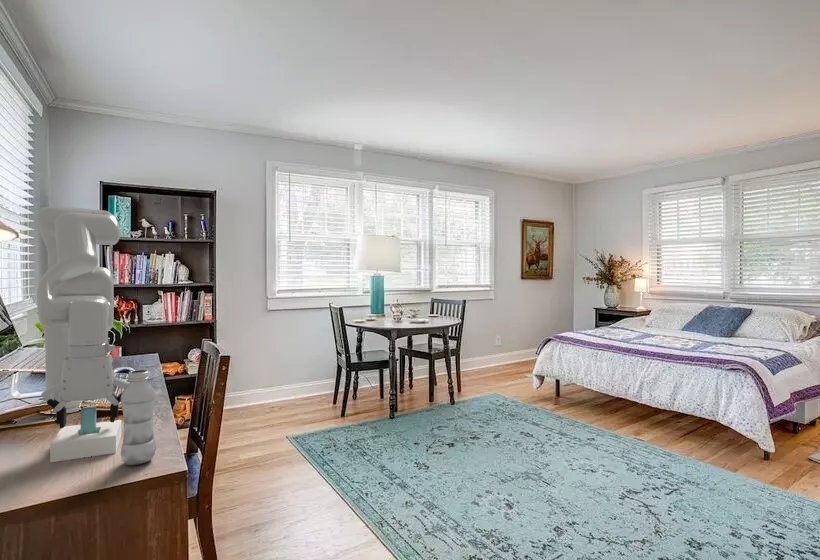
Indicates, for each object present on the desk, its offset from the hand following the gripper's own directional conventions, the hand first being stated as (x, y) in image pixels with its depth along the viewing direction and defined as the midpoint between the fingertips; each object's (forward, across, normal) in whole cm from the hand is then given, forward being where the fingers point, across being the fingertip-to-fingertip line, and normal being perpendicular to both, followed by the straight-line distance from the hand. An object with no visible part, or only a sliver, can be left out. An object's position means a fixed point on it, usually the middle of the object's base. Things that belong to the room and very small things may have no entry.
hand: (88, 423), depth 106 cm
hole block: (+6, 0, 0) cm, 6 cm away
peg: (+6, 0, 0) cm, 6 cm away
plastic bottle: (+6, -11, +14) cm, 19 cm away
